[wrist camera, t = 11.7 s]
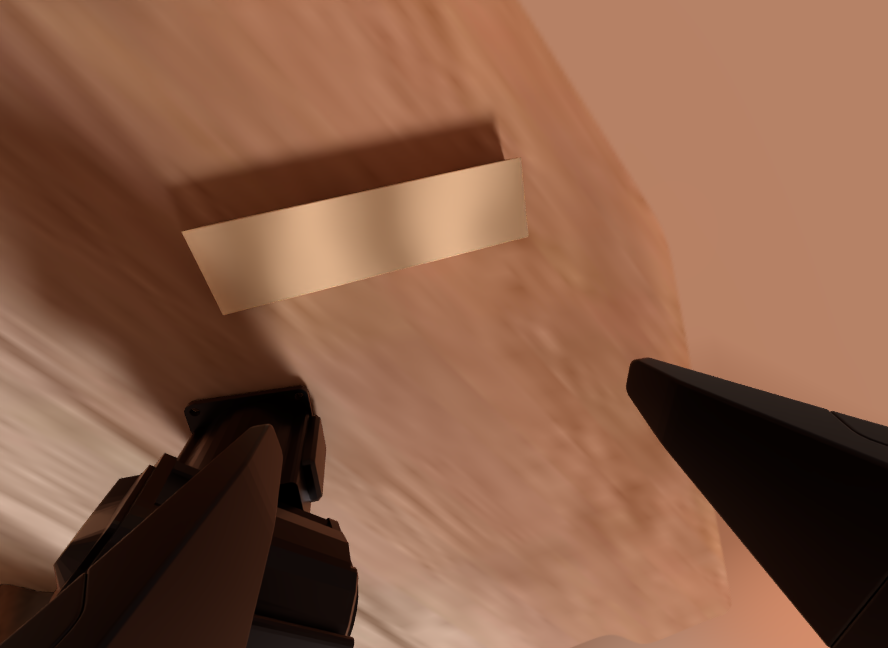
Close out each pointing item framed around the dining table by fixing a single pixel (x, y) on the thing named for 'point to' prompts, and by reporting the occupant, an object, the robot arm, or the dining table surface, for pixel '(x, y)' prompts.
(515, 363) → the dining table surface
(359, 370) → the dining table surface
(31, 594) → the brown paper bag
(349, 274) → the slat
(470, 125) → the dining table surface
